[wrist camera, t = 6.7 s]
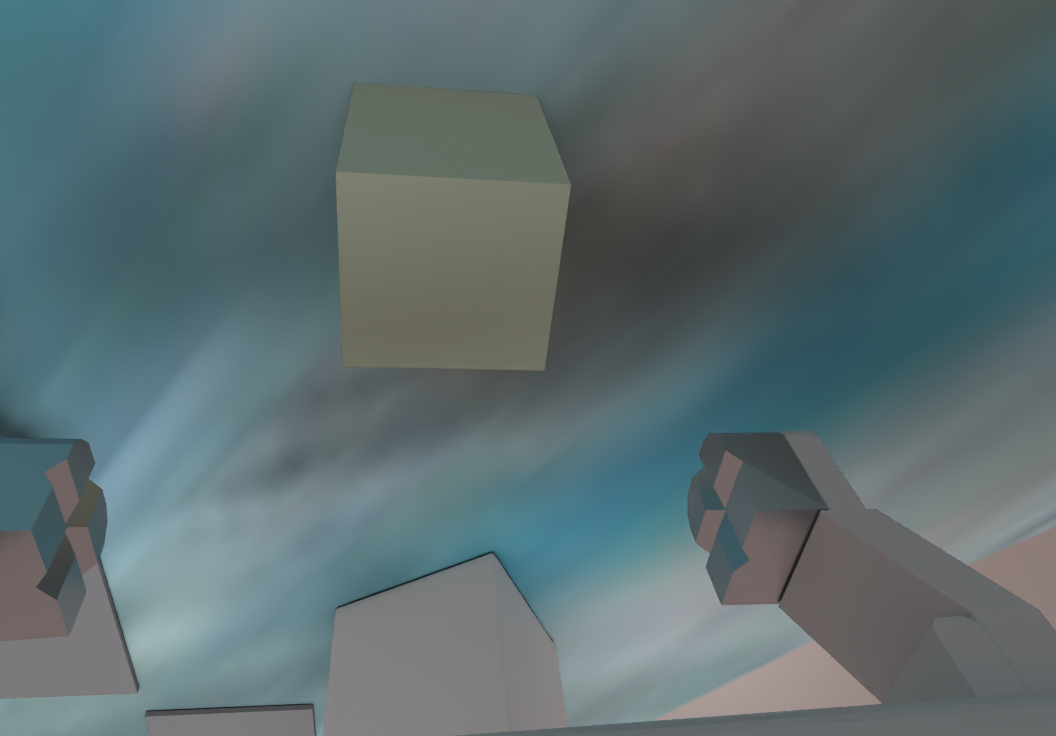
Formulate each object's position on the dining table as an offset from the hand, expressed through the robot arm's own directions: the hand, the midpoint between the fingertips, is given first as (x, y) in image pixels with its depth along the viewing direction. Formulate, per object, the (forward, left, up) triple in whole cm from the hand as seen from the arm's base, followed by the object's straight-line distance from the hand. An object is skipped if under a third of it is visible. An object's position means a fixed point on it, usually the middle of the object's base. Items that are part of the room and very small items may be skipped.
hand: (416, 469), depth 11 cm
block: (-1, 0, -10) cm, 10 cm away
